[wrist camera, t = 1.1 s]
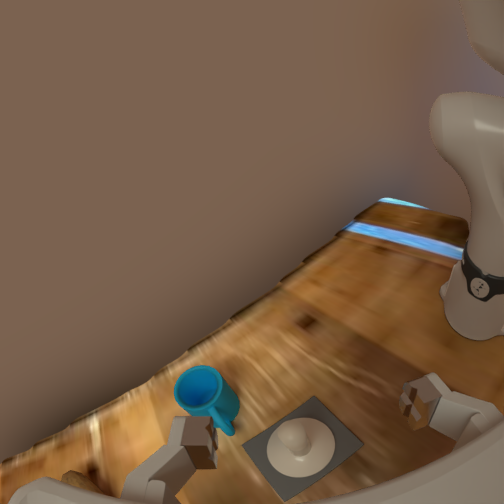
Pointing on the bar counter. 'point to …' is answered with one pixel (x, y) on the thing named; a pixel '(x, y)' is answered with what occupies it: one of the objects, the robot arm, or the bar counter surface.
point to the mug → (207, 396)
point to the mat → (293, 486)
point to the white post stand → (301, 447)
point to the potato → (80, 481)
